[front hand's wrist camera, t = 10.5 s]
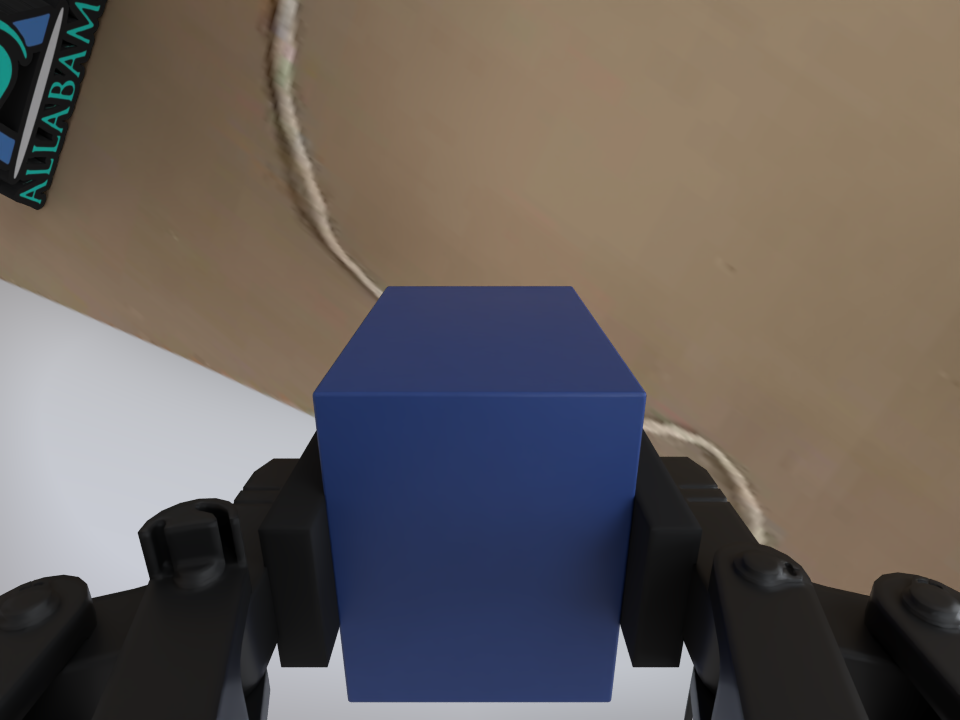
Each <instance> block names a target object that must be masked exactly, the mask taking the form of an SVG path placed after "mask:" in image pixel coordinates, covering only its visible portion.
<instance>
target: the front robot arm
mask: <svg viewBox="0 0 960 720" xmlns="http://www.w3.org/2000/svg"><path fill="white" fill-rule="evenodd" d="M138 535H139V539H140V543H141V547H142V551H143V554H144V558H145V562H146V566H147V570H148V573H149V577H150V581H149V583H148V585H146V586H142V587H139V588H135V589H131V590H127V591H122V592H118V593H113V594H109V595H104V596H100V597H95V598H91V595H90V592H89V589H88V586H87V584H86V583H85V582H84V581H83V580H82V579H80V578H79V577H75V576H68V575H59V576H51V577H44V578H41V579H37V580H34V581H30V582H28V583H25V584H22V585H20V586H18V587H16V588H14V589H12V590H10V591H8V592H7V593H5V594H3V595H1V596H0V720H267V715H268V705H269V696H270V686H269V679H268V673H267V665H268V663H269V661H270V658H271V656H272V653H273V651H274V649H275V646H276V644H277V645H278V651H279V657H280V662H281V667H328V664H329V660H330V657H331V653H332V650H333V647H334V643H335V640H336V637H337V633H338V630H339V627H340V622H339V613H338V605H337V596H336V587H335V579H334V570H333V562H332V553H331V544H330V536H329V527H328V519H327V510H326V501H325V496H324V489H323V480H322V472H321V463H320V455H319V446H318V438H317V430H316V432H315V434H314V436H313V437H312V439H311V441H310V442H309V444H308V446H307V447H306V449H305V451H304V452H303V454H302V456H301V457H300V459H272V460H271V461H269V462H268V463H266V464H265V465H263V466H262V467H261V468H259V469H258V470H256V471H255V472H254V473H253V474H252V476H251V477H250V479H249V480H248V481H247V483H246V484H245V486H244V487H243V491H240V493H239V494H238V495H237V497H236V498H235V500H234V504H232V503H231V502H229V501H225V500H221V499H217V498H208V499H196V500H192V501H187V502H183V503H179V504H177V505H174V506H172V507H170V508H167V509H165V510H163V511H161V512H159V513H158V514H157V515H155V516H154V517H152V518H151V519H149V520H148V521H147V522H146V523H145V524H144V525H143V527H142V528H141V529H140V530H139V532H138ZM620 625H621V629H622V632H623V635H624V639H625V642H626V646H627V649H628V652H629V656H630V659H631V662H632V666H633V667H679V664H680V658H681V653H682V647H683V641H684V643H685V645H686V647H687V650H688V652H689V655H690V657H691V659H692V662H693V664H694V667H693V673H692V678H691V684H690V689H689V695H688V700H687V706H686V711H685V718H684V720H692V718H693V720H960V592H958V591H956V590H954V589H952V588H950V587H948V586H946V585H944V584H942V583H940V582H937V581H935V580H932V579H928V578H925V577H922V576H919V575H913V574H905V573H898V572H897V573H891V574H884V575H882V576H880V577H879V578H878V579H877V580H876V581H874V584H873V587H872V590H871V593H870V596H867V595H862V594H858V593H853V592H849V591H844V590H840V589H835V588H831V587H826V586H823V585H819V584H816V583H813V582H811V580H810V578H809V576H808V575H807V573H806V572H805V571H804V569H803V568H802V566H800V565H799V564H798V563H797V562H795V561H794V560H793V559H792V558H790V557H789V556H788V555H786V554H784V553H782V552H780V551H778V550H776V549H774V548H771V547H769V546H765V545H761V544H759V543H758V542H757V540H756V539H755V537H754V536H753V535H752V533H751V532H750V530H749V529H748V528H747V526H746V525H745V523H744V522H743V521H742V519H741V518H740V516H739V515H738V514H737V512H736V511H735V509H734V508H733V507H732V505H731V504H730V502H727V498H726V497H725V495H724V494H723V493H722V491H721V490H720V489H718V487H717V484H716V483H715V481H714V480H713V479H712V477H711V476H710V474H709V473H708V472H707V470H706V469H704V468H703V467H701V466H700V465H698V464H697V463H695V462H694V461H692V460H691V459H690V458H688V457H659V455H658V453H657V452H656V450H655V448H654V447H653V445H652V443H651V442H650V440H649V438H648V437H647V435H646V433H645V431H644V430H643V429H642V438H641V446H640V455H639V464H638V472H637V481H636V490H635V498H634V506H633V515H632V524H631V532H630V541H629V550H628V558H627V567H626V575H625V584H624V593H623V601H622V610H621V619H620Z"/></svg>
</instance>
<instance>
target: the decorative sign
mask: <svg viewBox="0 0 960 720" xmlns="http://www.w3.org/2000/svg"><path fill="white" fill-rule="evenodd" d="M106 2H107V0H0V193H1V194H3V195H5V196H7V197H8V198H10V199H12V200H14V201H16V202H19V203H22V204H25V205H27V206H30V207H32V208H34V209H36V210H39V209H41V208H42V207H43V206H44V204H45V201H46V195H45V194H44V193H42V192H44V191H46V190H48V189H49V187H50V185H51V182H52V176H53V175H54V172H55V169H56V166H57V162H58V155H59V154H60V152H61V149H62V146H63V143H64V139H65V135H66V132H67V129H68V125H67V123H66V122H65V121H63V120H67V119H69V118H70V117H71V115H72V113H73V110H74V105H75V103H76V100H77V97H78V94H79V88H80V83H81V81H82V79H83V77H84V73H85V68H84V66H83V65H81V64H80V63H85V62H87V61H88V59H89V57H90V54H91V49H92V46H93V44H94V35H93V33H95V32H96V30H97V29H98V25H99V22H98V20H97V19H98V18H99V17H101V15H102V14H103V12H104V8H105V3H106Z"/></svg>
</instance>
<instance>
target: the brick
mask: <svg viewBox="0 0 960 720" xmlns="http://www.w3.org/2000/svg"><path fill="white" fill-rule="evenodd" d="M313 403H314V412H315V420H316V429H317V438H318V446H319V455H320V463H321V472H322V480H323V489H324V496H325V501H326V510H327V519H328V527H329V536H330V544H331V553H332V562H333V570H334V579H335V587H336V596H337V605H338V613H339V622H340V634H341V643H342V652H343V660H344V669H345V677H346V686H347V695H348V701H349V702H610V701H611V696H612V688H613V679H614V671H615V662H616V654H617V645H618V636H619V628H620V619H621V610H622V601H623V593H624V584H625V575H626V567H627V558H628V550H629V541H630V532H631V524H632V515H633V506H634V498H635V490H636V481H637V472H638V464H639V455H640V446H641V438H642V429H643V421H644V412H645V403H646V393H645V391H644V390H643V388H642V387H641V385H640V384H639V382H638V381H637V380H636V378H635V377H634V375H633V374H632V372H631V371H630V369H629V368H628V367H627V365H626V364H625V362H624V361H623V359H622V358H621V356H620V355H619V354H618V352H617V351H616V349H615V348H614V346H613V345H612V343H611V342H610V341H609V339H608V338H607V336H606V335H605V333H604V332H603V331H602V329H601V328H600V326H599V325H598V323H597V322H596V320H595V319H594V318H593V316H592V315H591V313H590V312H589V310H588V309H587V307H586V306H585V305H584V303H583V302H582V300H581V299H580V297H579V296H578V294H577V293H576V292H575V290H574V289H573V287H571V286H388V287H387V288H386V289H385V291H384V292H383V294H382V295H381V296H380V298H379V299H378V301H377V302H376V304H375V305H374V307H373V308H372V309H371V311H370V312H369V314H368V315H367V317H366V318H365V319H364V321H363V322H362V324H361V325H360V327H359V328H358V329H357V331H356V332H355V334H354V335H353V337H352V338H351V339H350V341H349V342H348V344H347V345H346V347H345V348H344V350H343V351H342V352H341V354H340V355H339V357H338V358H337V360H336V361H335V362H334V364H333V365H332V367H331V368H330V370H329V371H328V372H327V374H326V375H325V377H324V378H323V380H322V381H321V382H320V384H319V385H318V387H317V388H316V390H315V391H314V393H313Z"/></svg>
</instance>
